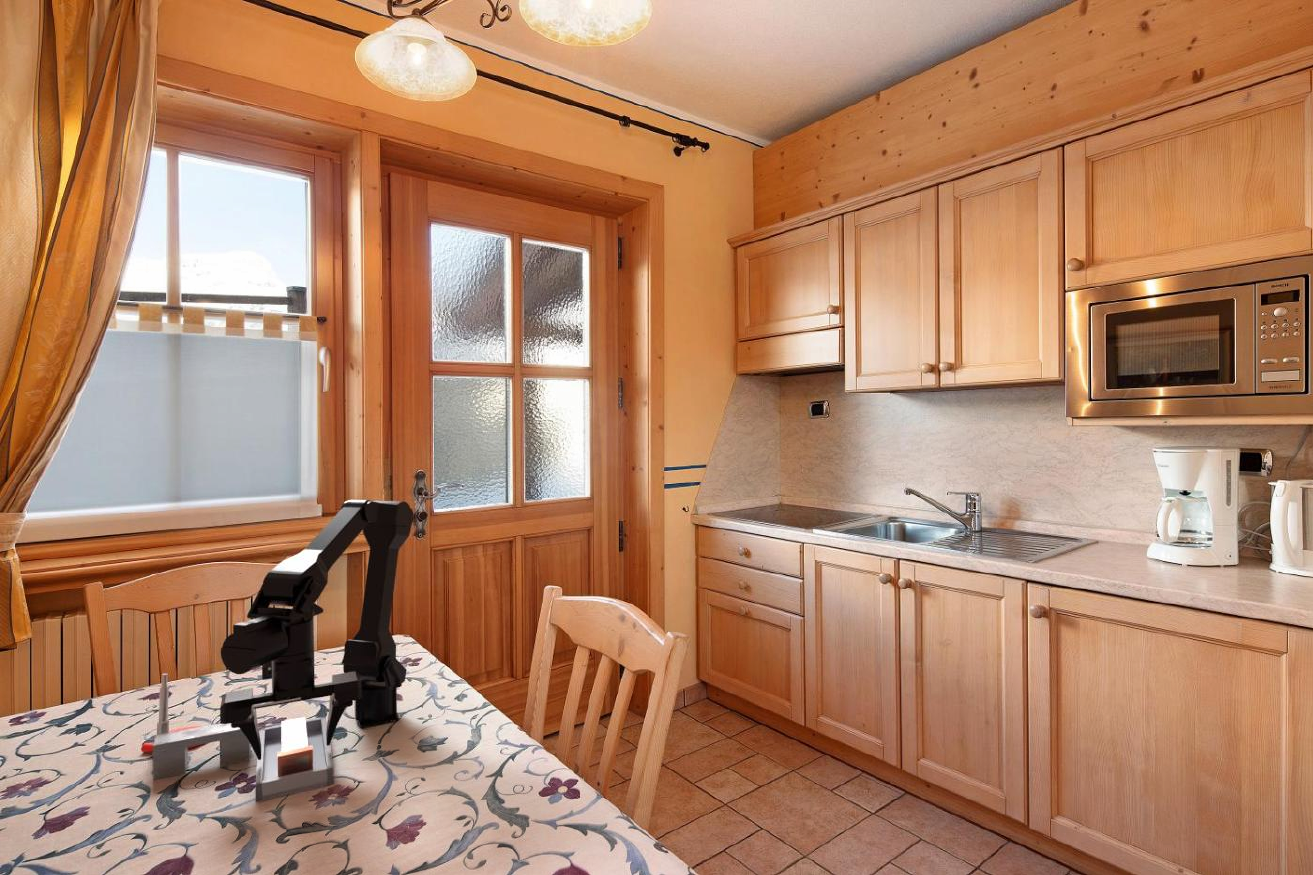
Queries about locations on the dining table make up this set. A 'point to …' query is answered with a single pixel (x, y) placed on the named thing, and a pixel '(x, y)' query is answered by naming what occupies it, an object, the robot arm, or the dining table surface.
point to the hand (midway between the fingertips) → (294, 751)
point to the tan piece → (294, 748)
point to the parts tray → (277, 786)
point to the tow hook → (163, 716)
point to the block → (174, 745)
